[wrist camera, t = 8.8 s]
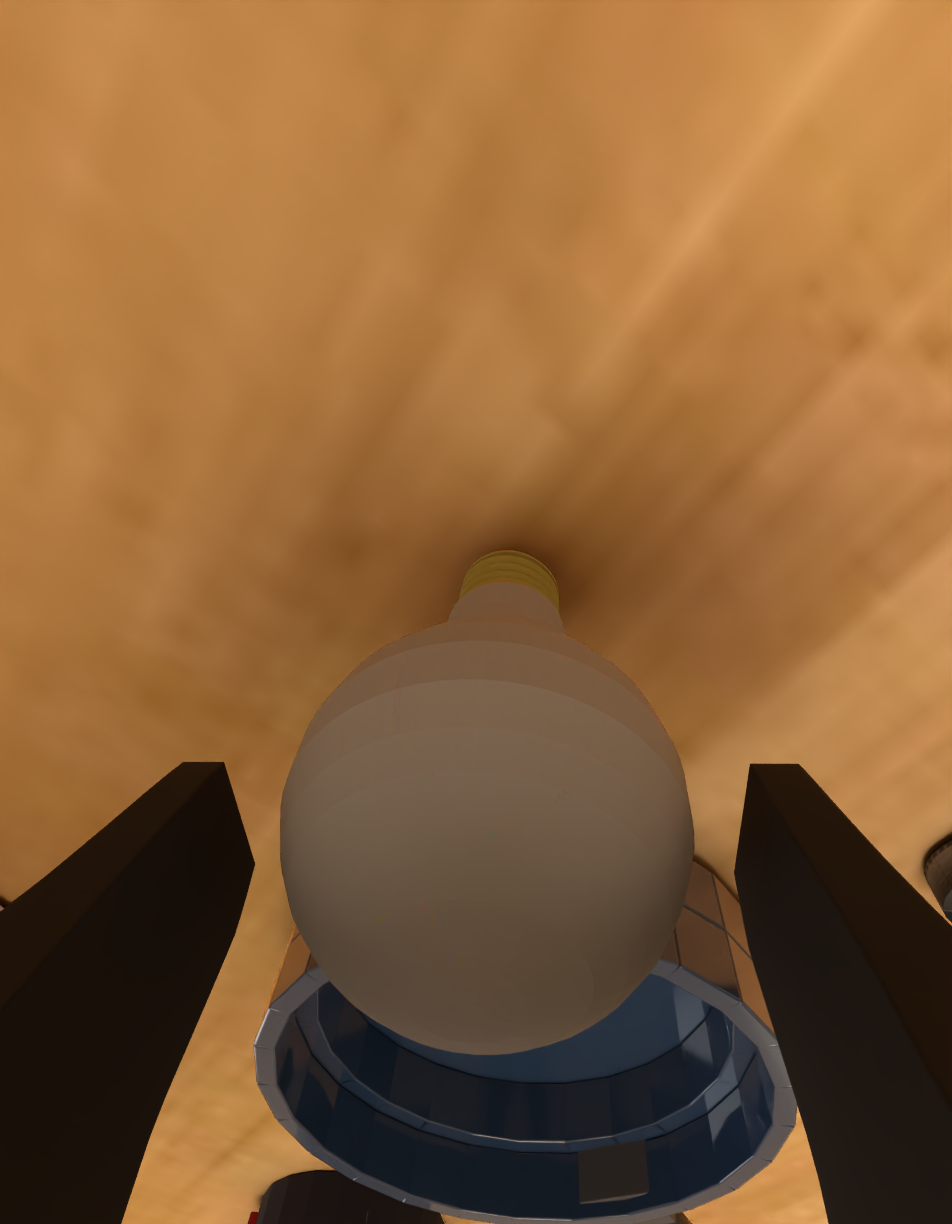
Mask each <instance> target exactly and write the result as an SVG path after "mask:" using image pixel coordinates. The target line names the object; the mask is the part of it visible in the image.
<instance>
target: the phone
mask: <svg viewBox="0 0 952 1224" xmlns="http://www.w3.org/2000/svg"><path fill="white" fill-rule="evenodd" d="M924 874H925V877H926V880H927V883H928V884H929V886H930V888H931V890H932V892H933V894H934V896H935V897H936V899H937V901H938V903H939V905H940V907H941V908H942V910H943V912H944V914H945V916H946V917H947V918H948V919H949V920H950V921H951V922H952V840H950V841H949V842H947V843H946V844H944V845H943V846H941V847H940V848H939V849H938V850H936V851H935V852H934V853H933V854H932V855H931V857H930V858H929V860H928V861H927V863H926V866H925V872H924Z"/></svg>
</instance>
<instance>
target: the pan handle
mask: <svg viewBox="0 0 952 1224" xmlns="http://www.w3.org/2000/svg"><path fill="white" fill-rule="evenodd" d="M645 1141H646V1140H641V1141H635V1142H629V1143H623V1144H618V1145H612V1146H606V1147H600V1148H595V1149H589V1150H583V1151H578V1173H579V1203H580V1204H584V1203H598V1202H608V1201H618V1200H626V1199H630V1198H634V1197H638V1196H641V1195H644V1194H647V1193H648V1192H649V1191H650V1190H649V1180H648V1170H647V1160H646V1150H645ZM634 1224H692V1223H691V1222H690V1221H689V1220H688V1218H687V1217H686V1216H685V1215H684V1214H683V1212H680V1213H676V1214H671V1215H667V1216H663V1217H659V1218H655V1219H651V1220H646V1221H642V1222H638V1223H634Z"/></svg>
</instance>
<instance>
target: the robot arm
mask: <svg viewBox="0 0 952 1224" xmlns="http://www.w3.org/2000/svg"><path fill="white" fill-rule="evenodd" d="M254 867H255V862H254V859H253V855H252V852H251V849H250V846H249V842H248V839H247V836H246V832H245V829H244V826H243V823H242V819H241V816H240V813H239V810H238V806H237V803H236V800H235V796H234V793H233V790H232V787H231V783H230V780H229V777H228V774H227V770H226V767H225V764H224V762H183V763H181V764H180V765H179V766H177V767H176V768H175V769H174V770H172V771H171V772H170V773H168V774H167V775H166V776H165V777H164V778H162V779H161V780H160V781H159V782H158V783H156V784H155V785H154V786H153V787H151V788H150V789H149V790H148V791H147V792H146V793H144V794H143V795H142V796H141V797H140V798H138V799H137V800H136V801H135V802H134V803H133V804H131V805H130V806H129V807H128V808H127V809H125V810H124V811H123V812H122V813H121V814H120V815H118V816H117V817H116V818H115V819H114V820H113V821H111V822H110V823H109V824H108V825H107V826H105V827H104V828H103V829H102V830H101V831H99V832H98V833H97V834H96V835H95V836H93V837H92V838H91V839H90V840H89V841H87V842H86V843H85V844H84V845H83V846H81V847H80V848H79V849H78V850H77V851H76V852H74V853H73V854H72V855H71V856H70V857H68V858H67V859H66V860H65V861H64V862H62V863H61V864H60V865H59V866H58V867H56V868H55V869H54V870H53V871H51V872H50V873H49V874H48V875H46V876H45V877H44V878H43V879H41V880H40V881H39V882H37V883H36V884H35V885H34V886H32V887H31V888H30V889H28V890H27V891H26V892H25V893H23V894H22V895H21V896H19V897H18V898H17V899H16V900H14V901H13V902H12V903H10V904H9V905H8V906H7V907H5V908H3V907H2V906H0V1224H121V1223H122V1220H123V1217H124V1213H125V1210H126V1207H127V1204H128V1201H129V1198H130V1195H131V1192H132V1189H133V1186H134V1183H135V1180H136V1177H137V1174H138V1171H139V1168H140V1165H141V1162H142V1159H143V1156H144V1153H145V1150H146V1147H147V1144H148V1141H149V1138H150V1135H151V1133H152V1130H153V1128H154V1125H155V1123H156V1120H157V1117H158V1115H159V1112H160V1110H161V1107H162V1105H163V1102H164V1099H165V1097H166V1095H167V1092H168V1090H169V1088H170V1085H171V1083H172V1081H173V1078H174V1076H175V1074H176V1071H177V1069H178V1067H179V1065H180V1062H181V1060H182V1058H183V1055H184V1053H185V1051H186V1048H187V1046H188V1044H189V1041H190V1039H191V1037H192V1034H193V1032H194V1030H195V1027H196V1025H197V1023H198V1021H199V1018H200V1016H201V1014H202V1011H203V1009H204V1007H205V1004H206V1002H207V1000H208V997H209V995H210V993H211V990H212V988H213V986H214V983H215V981H216V979H217V976H218V974H219V972H220V969H221V967H222V964H223V962H224V960H225V957H226V955H227V953H228V950H229V948H230V945H231V943H232V940H233V938H234V936H235V933H236V929H237V926H238V923H239V920H240V916H241V913H242V910H243V907H244V903H245V900H246V896H247V892H248V889H249V885H250V881H251V878H252V874H253V870H254ZM734 875H735V880H736V886H737V891H738V897H739V902H740V908H741V913H742V918H743V923H744V928H745V933H746V938H747V943H748V948H749V952H750V955H751V958H752V961H753V965H754V968H755V971H756V975H757V978H758V981H759V984H760V988H761V991H762V994H763V997H764V1000H765V1004H766V1007H767V1010H768V1013H769V1017H770V1020H771V1023H772V1026H773V1029H774V1032H775V1036H776V1039H777V1042H778V1045H779V1048H780V1051H781V1055H782V1058H783V1061H784V1064H785V1067H786V1071H787V1074H788V1077H789V1080H790V1083H791V1086H792V1090H793V1093H794V1096H795V1099H796V1102H797V1105H798V1109H799V1112H800V1115H801V1118H802V1121H803V1125H804V1128H805V1131H806V1134H807V1138H808V1142H809V1145H810V1149H811V1152H812V1156H813V1160H814V1163H815V1167H816V1171H817V1174H818V1178H819V1182H820V1187H821V1191H822V1196H823V1200H824V1205H825V1209H826V1214H827V1218H828V1223H829V1224H952V926H951V925H950V924H949V923H948V922H947V921H946V920H945V919H944V918H943V917H942V916H941V915H940V914H939V913H938V912H937V911H936V910H935V909H934V908H933V907H932V906H931V905H930V904H929V903H928V902H927V901H926V900H925V899H924V898H923V897H922V896H921V895H920V894H919V893H918V892H917V891H916V890H915V889H914V888H913V887H912V886H911V885H910V884H909V883H908V882H907V880H906V879H905V878H904V877H903V876H902V875H901V874H900V873H899V872H898V871H897V870H896V869H895V868H894V867H893V866H892V865H891V864H890V863H889V862H888V861H887V860H886V859H885V858H884V857H883V856H882V855H881V853H880V852H879V851H878V850H877V849H876V848H875V847H874V846H873V845H872V844H871V843H870V842H869V841H868V839H867V838H866V837H865V836H864V835H863V834H862V833H861V832H860V831H859V830H858V829H857V827H856V826H855V825H854V824H853V823H852V822H851V821H850V820H849V819H848V818H847V816H846V815H845V814H844V813H843V812H842V811H841V810H840V809H839V808H838V806H837V805H836V804H835V803H834V802H833V801H832V800H831V799H830V798H829V796H828V795H827V794H826V793H825V792H824V791H823V790H822V789H821V787H820V786H819V785H818V784H817V783H816V782H815V781H814V780H813V778H812V777H811V776H810V775H809V774H808V773H807V772H806V771H805V770H804V769H803V768H802V767H801V766H800V765H799V764H750V767H749V774H748V781H747V788H746V795H745V802H744V809H743V815H742V822H741V829H740V836H739V843H738V850H737V857H736V863H735V870H734Z"/></svg>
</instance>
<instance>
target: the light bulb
mask: <svg viewBox="0 0 952 1224" xmlns="http://www.w3.org/2000/svg"><path fill="white" fill-rule="evenodd" d="M693 854H694V828H693V821H692V815H691V809H690V804H689V798H688V792H687V787H686V781H685V776H684V771H683V768H682V764H681V761H680V758H679V756H678V753H677V751H676V749H675V746H674V744H673V742H672V741H671V739H670V737H669V735H668V734H667V732H666V730H665V729H664V727H663V725H662V724H661V722H660V720H659V719H658V717H657V715H656V714H655V712H654V710H653V708H652V707H651V705H650V703H649V702H648V700H647V699H646V697H645V696H644V695H643V693H642V692H641V691H640V689H639V688H638V687H637V686H636V685H635V684H634V683H633V682H632V681H631V679H630V678H629V677H628V676H627V675H626V674H624V673H623V672H622V671H621V670H620V669H619V668H618V667H616V666H615V665H614V664H613V663H611V662H610V661H608V660H607V659H606V658H604V657H603V656H601V655H600V654H598V653H597V652H595V651H594V650H592V649H590V648H589V647H587V646H586V645H584V644H582V643H581V642H579V641H577V640H575V639H574V638H572V637H570V636H568V635H566V634H564V626H563V622H562V619H561V616H560V614H559V589H558V586H557V583H556V580H555V578H554V576H553V575H552V573H551V572H550V571H549V569H548V568H547V567H546V566H545V565H544V564H543V563H541V562H540V561H539V560H537V559H536V558H534V557H532V556H530V555H528V554H526V553H523V552H519V551H515V550H501V551H496V552H492V553H489V554H487V555H485V556H483V557H481V558H479V559H478V560H477V561H475V562H474V563H473V564H472V565H471V567H470V568H469V569H468V571H467V573H466V575H465V578H464V580H463V583H462V586H461V592H460V595H459V600H458V602H457V603H456V604H455V606H454V607H453V609H452V610H451V612H450V615H449V617H448V621H447V622H444V623H441V624H437V625H434V626H431V627H428V628H426V629H423V630H420V631H418V632H415V633H412V634H409V635H407V636H404V637H402V638H400V639H398V640H396V641H394V642H391V643H389V644H387V645H386V646H384V647H383V648H381V649H379V650H378V651H376V652H374V653H373V654H372V655H370V656H369V657H368V658H367V659H365V660H364V661H363V662H361V663H360V664H359V665H358V666H357V667H356V668H355V669H354V670H353V671H352V672H351V673H350V674H349V675H348V676H347V677H346V679H345V680H344V681H343V682H342V683H341V684H340V685H339V686H338V687H337V688H336V690H335V691H334V692H333V693H332V694H331V695H330V696H329V697H328V698H327V700H326V701H325V702H324V703H323V705H322V706H321V707H320V708H319V709H318V711H317V712H316V714H315V716H314V717H313V719H312V720H311V722H310V724H309V726H308V728H307V730H306V732H305V735H304V737H303V739H302V742H301V744H300V747H299V749H298V752H297V754H296V757H295V759H294V762H293V765H292V767H291V770H290V772H289V775H288V777H287V780H286V784H285V787H284V790H283V795H282V801H281V818H280V859H281V867H282V874H283V879H284V883H285V888H286V892H287V897H288V901H289V905H290V909H291V913H292V916H293V919H294V921H295V924H296V926H297V928H298V930H299V932H300V934H301V936H302V938H303V939H304V941H305V943H306V945H307V946H308V948H309V950H310V952H311V953H312V955H313V957H314V959H315V960H316V962H317V964H318V966H319V967H320V969H321V970H322V971H323V973H324V974H325V976H326V977H327V978H328V979H329V980H330V982H331V983H332V984H333V985H334V986H335V987H336V988H337V989H338V990H339V991H340V993H341V994H342V995H343V996H344V997H345V998H346V999H348V1000H349V1001H350V1002H351V1003H352V1004H353V1005H354V1006H355V1007H356V1008H358V1009H359V1010H360V1011H362V1012H363V1013H365V1014H366V1015H367V1016H369V1017H370V1018H372V1019H373V1020H375V1021H376V1022H378V1023H380V1024H382V1025H383V1026H385V1027H387V1028H389V1029H391V1030H392V1031H394V1032H396V1033H398V1034H400V1035H402V1036H404V1037H406V1038H408V1039H411V1040H413V1041H415V1042H418V1043H420V1044H423V1045H427V1046H430V1047H433V1048H436V1049H441V1050H445V1051H450V1052H455V1053H464V1054H473V1055H500V1054H511V1053H517V1052H523V1051H527V1050H531V1049H535V1048H539V1047H543V1046H547V1045H550V1044H553V1043H556V1042H559V1041H562V1040H565V1039H568V1038H570V1037H572V1036H574V1035H576V1034H578V1033H580V1032H582V1031H584V1030H586V1029H588V1028H590V1027H591V1026H593V1025H594V1024H596V1023H597V1022H599V1021H600V1020H602V1019H603V1018H605V1017H606V1016H608V1015H609V1014H610V1013H611V1012H613V1011H614V1010H615V1009H617V1008H618V1007H619V1006H620V1005H621V1004H622V1003H623V1002H624V1001H625V1000H626V999H627V998H628V996H629V995H630V994H631V993H632V992H633V991H634V990H635V989H636V988H637V987H638V986H639V985H640V983H641V982H642V981H643V980H644V979H645V978H646V977H647V976H648V975H649V973H650V972H651V971H652V970H653V968H654V967H655V966H656V964H657V962H658V961H659V959H660V958H661V956H662V954H663V952H664V950H665V947H666V945H667V943H668V941H669V939H670V937H671V935H672V932H673V930H674V928H675V926H676V924H677V921H678V919H679V917H680V914H681V911H682V907H683V904H684V900H685V895H686V891H687V886H688V881H689V876H690V872H691V867H692V862H693Z"/></svg>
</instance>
